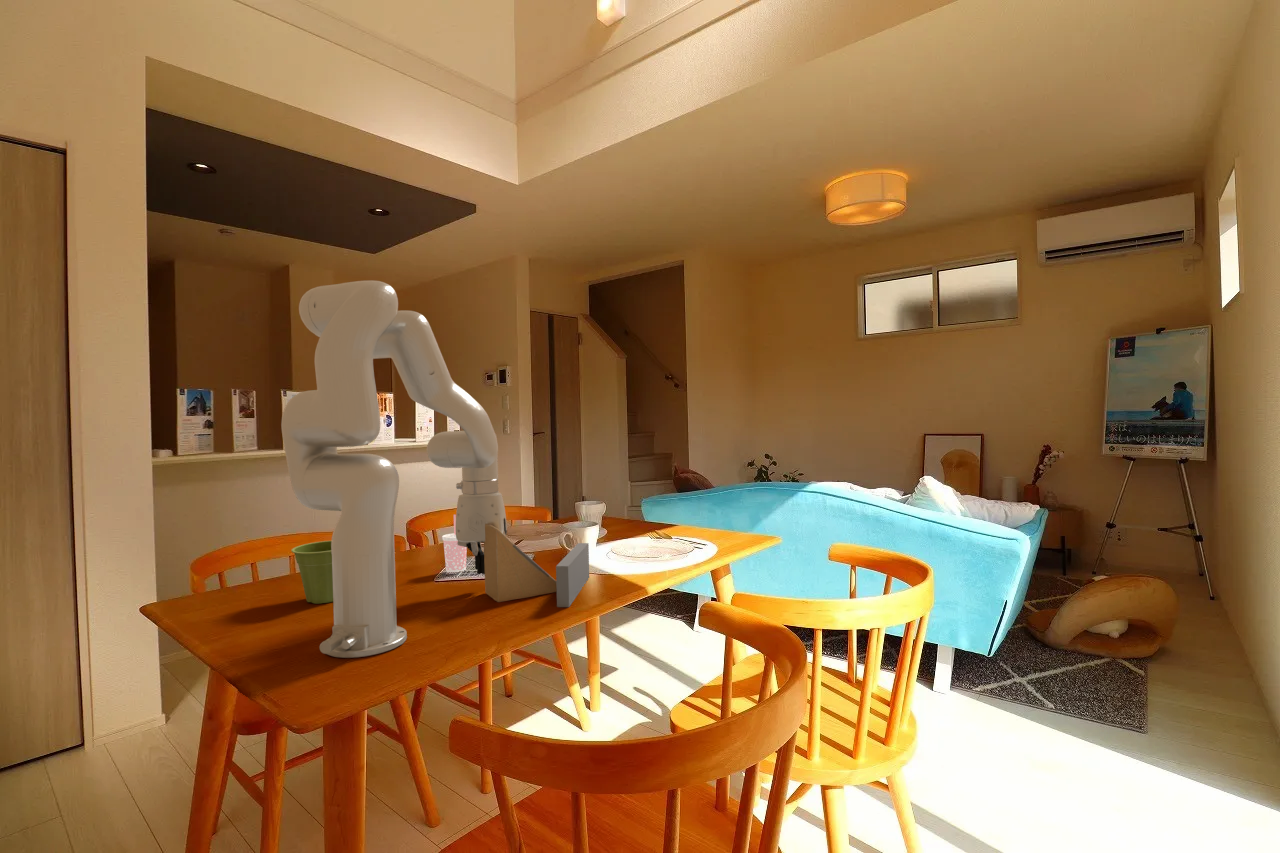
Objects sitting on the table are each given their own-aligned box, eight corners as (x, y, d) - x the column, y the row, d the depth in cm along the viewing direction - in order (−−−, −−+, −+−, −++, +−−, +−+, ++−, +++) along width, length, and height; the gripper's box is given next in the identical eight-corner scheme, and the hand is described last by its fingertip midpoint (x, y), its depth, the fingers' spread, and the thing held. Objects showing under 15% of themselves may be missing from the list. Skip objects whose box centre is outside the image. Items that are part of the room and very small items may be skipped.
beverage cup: (441, 570, 153) (439, 514, 153) (466, 567, 156) (465, 511, 156) (444, 576, 148) (443, 517, 147) (471, 573, 150) (469, 515, 150)
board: (569, 607, 122) (568, 566, 121) (557, 607, 122) (556, 566, 122) (589, 577, 143) (588, 543, 143) (579, 577, 144) (578, 543, 144)
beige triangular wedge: (567, 590, 134) (566, 520, 133) (498, 602, 126) (496, 528, 125) (551, 581, 141) (550, 515, 141) (484, 592, 133) (483, 522, 133)
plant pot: (287, 599, 131) (285, 546, 131) (346, 588, 139) (345, 537, 139) (301, 612, 122) (299, 554, 122) (364, 599, 130) (362, 545, 130)
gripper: (440, 490, 131) (442, 577, 132) (509, 489, 130) (512, 577, 131) (453, 486, 139) (456, 568, 139) (519, 485, 138) (522, 568, 138)
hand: (483, 572), depth 135 cm, fingers closed
